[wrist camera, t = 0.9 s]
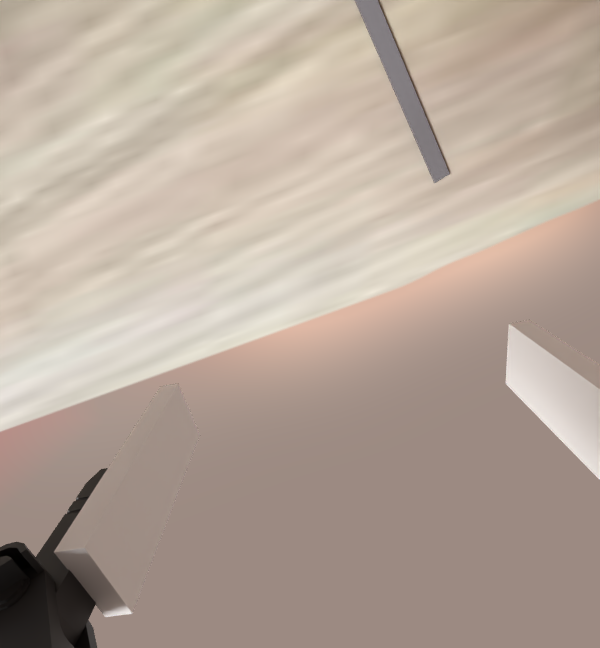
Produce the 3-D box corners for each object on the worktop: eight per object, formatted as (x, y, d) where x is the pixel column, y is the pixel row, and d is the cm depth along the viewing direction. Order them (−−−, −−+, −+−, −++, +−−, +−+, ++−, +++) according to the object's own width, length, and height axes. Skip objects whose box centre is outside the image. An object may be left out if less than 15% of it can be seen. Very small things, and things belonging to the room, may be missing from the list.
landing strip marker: (352, -6, 30) (352, -8, 29) (368, -19, 29) (369, -21, 29) (434, 182, 36) (435, 182, 35) (448, 173, 35) (449, 173, 35)
